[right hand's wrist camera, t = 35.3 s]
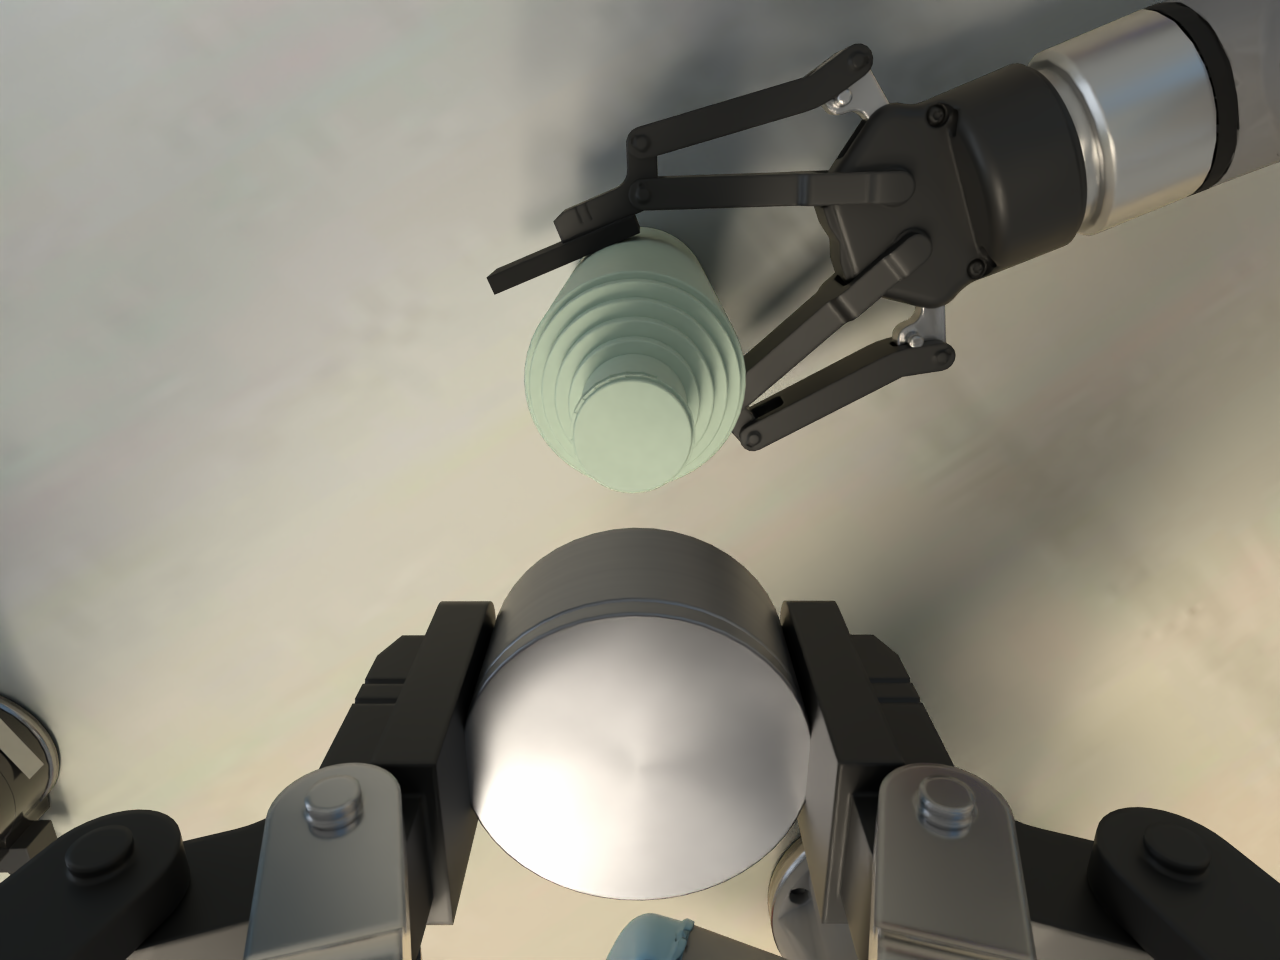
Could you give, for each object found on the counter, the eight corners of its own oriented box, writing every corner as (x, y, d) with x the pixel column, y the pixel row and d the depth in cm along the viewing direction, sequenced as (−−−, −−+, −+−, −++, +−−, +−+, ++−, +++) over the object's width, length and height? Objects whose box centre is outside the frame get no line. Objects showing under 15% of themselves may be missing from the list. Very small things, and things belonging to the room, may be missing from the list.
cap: (661, 466, 11) (665, 542, 9) (842, 677, 13) (883, 789, 10) (430, 640, 12) (384, 746, 10) (618, 820, 14) (613, 950, 11)
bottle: (725, 249, 42) (809, 344, 21) (684, 380, 45) (721, 590, 23) (590, 209, 42) (530, 263, 20) (556, 344, 44) (468, 524, 22)
